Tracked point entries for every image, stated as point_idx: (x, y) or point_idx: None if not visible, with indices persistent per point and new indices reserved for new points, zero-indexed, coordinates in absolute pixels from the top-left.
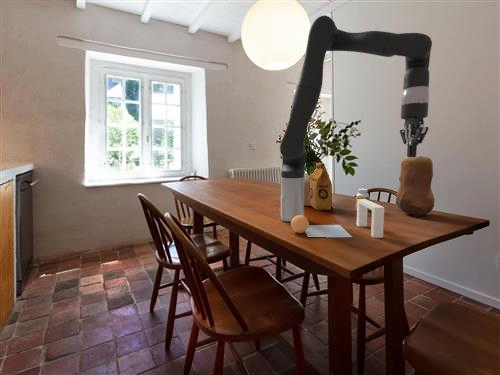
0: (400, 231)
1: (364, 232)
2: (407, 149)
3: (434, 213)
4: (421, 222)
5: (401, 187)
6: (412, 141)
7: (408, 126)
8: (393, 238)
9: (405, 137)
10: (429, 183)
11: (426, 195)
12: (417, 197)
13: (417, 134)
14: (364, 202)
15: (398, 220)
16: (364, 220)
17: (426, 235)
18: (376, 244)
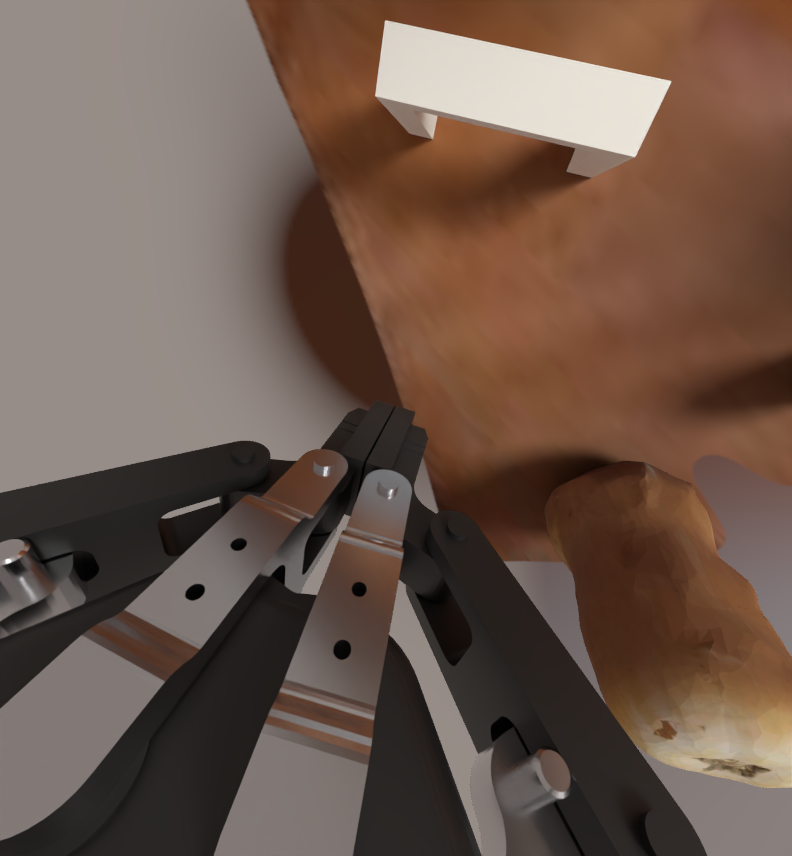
0: (453, 269)
1: None
2: (397, 445)
3: None
4: (512, 422)
5: (685, 528)
6: (246, 455)
7: (102, 749)
8: (392, 174)
9: (383, 551)
10: (575, 588)
11: (560, 531)
12: (578, 503)
13: (73, 487)
14: (543, 57)
15: (571, 377)
16: (578, 152)
17: (394, 317)
18: (345, 35)
